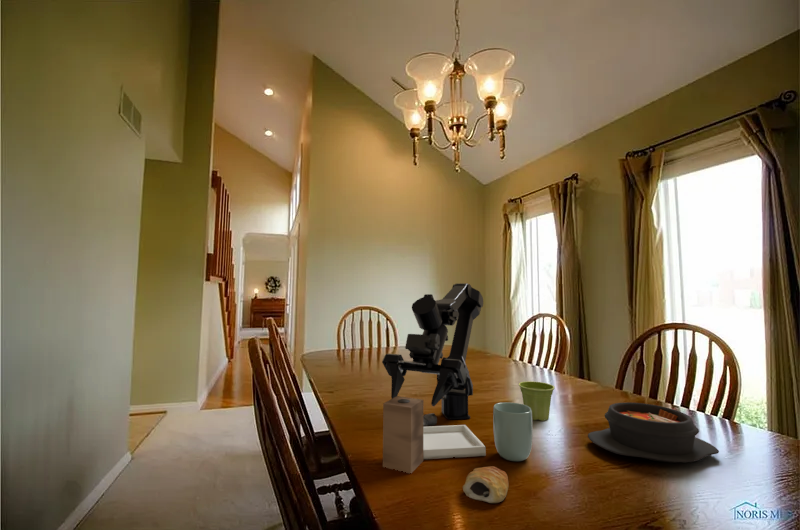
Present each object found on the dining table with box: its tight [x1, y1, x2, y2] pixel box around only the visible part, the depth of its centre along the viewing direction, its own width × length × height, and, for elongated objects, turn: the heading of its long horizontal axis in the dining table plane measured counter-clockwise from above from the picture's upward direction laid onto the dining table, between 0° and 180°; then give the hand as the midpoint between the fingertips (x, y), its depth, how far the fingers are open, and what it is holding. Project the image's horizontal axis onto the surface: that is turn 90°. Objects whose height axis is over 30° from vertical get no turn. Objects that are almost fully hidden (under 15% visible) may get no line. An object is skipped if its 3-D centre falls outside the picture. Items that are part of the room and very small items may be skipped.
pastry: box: [462, 465, 510, 504], centre depth 63 cm, size 9×7×4 cm
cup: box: [492, 401, 533, 462], centre depth 76 cm, size 8×8×10 cm
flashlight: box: [423, 412, 438, 427], centre depth 92 cm, size 11×3×3 cm, turn 119°
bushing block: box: [382, 395, 424, 474], centre depth 73 cm, size 6×6×12 cm
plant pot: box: [518, 380, 555, 422], centre depth 101 cm, size 9×9×9 cm
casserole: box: [587, 402, 720, 463], centre depth 80 cm, size 25×19×8 cm
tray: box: [423, 424, 487, 460], centre depth 82 cm, size 13×13×2 cm
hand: (412, 402), depth 77 cm, fingers open, 9 cm apart
